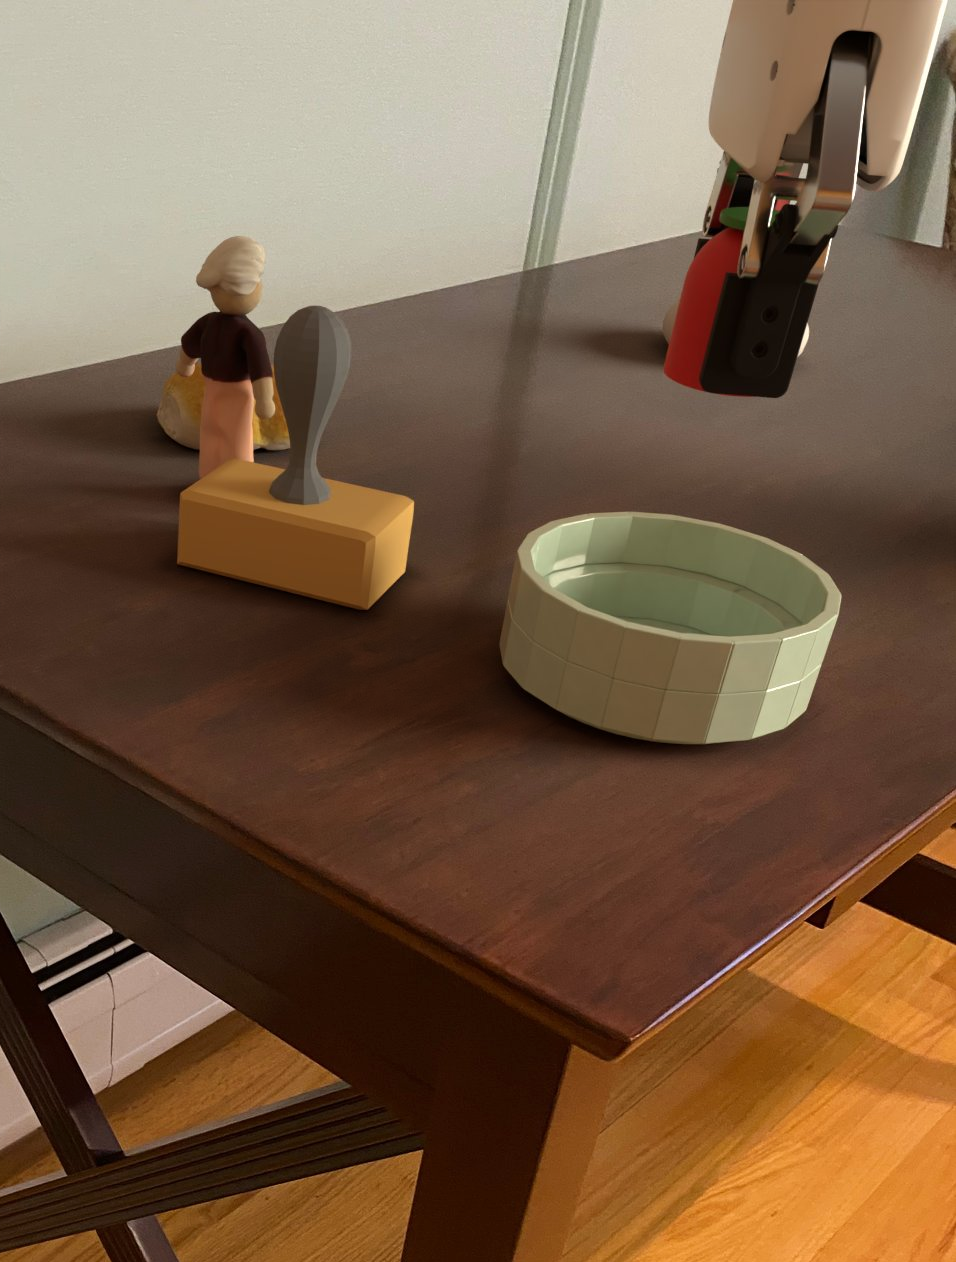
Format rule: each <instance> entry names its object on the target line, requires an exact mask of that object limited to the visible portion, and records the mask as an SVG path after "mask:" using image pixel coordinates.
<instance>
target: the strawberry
mask: <svg viewBox="0 0 956 1262" xmlns="http://www.w3.org/2000/svg"><path fill="white" fill-rule="evenodd" d="M748 211H749V207H732V208H726V209H723V210H722V211H721V214H720V218H719V221H720V222H721V223H722V224H724V225H726V226H729V228H727V229H725V230H723V231H721V232H720V233H718V234H717V235H715V236H714V237H711V238H709V239H710V240H709V241H708V242H707V243H706V244H705V245H704V246H703V247H702V248H701V250H700V251H699V252H698V254H697V255H696V256H695V258H694V257H693V259H694V260H693V259H692V261H691V263H690V265H689V267H688V269H687V271H686V275H685V277H684V280H683V281H684V282H683V285H682V289H681V293H680V297H679V299H680V301H679V305H678V310H677V314H676V318H675V322H674V326H673V330H672V335H671V339H670V343H669V344H668V347H667V351H666V356H665V360H664V364H663V369H662V370H663V373H664V375H665V376H666V377H667V378H668V379H670V380H671V381H673V382H675V383H676V384H679V385H682V386H683V387H687V388H689V389H692V390H693V389H694V390H697V391H701V392H705V393H707V392H706V391H704V390H703V388H702V386H701V385H700V383H699V376H700V372H701V368H702V364H703V360H704V356H705V352H706V348H707V344H708V341H709V337H710V333H711V329H712V325H713V321H714V317H715V313H716V309H717V305H718V302H719V298H720V294H721V290H722V286H723V282H724V278H725V274H726V272H728V273H737V266H738V260H739V255H740V250H741V245H742V240H743V236H744V231H745V226H746V221H747V216H748ZM779 212H780V211H779V210H772V215H771V220H770V225H769V229H770V227H771V225H772V223H773V222H774V220H775V215H776V214H778V213H779ZM768 231H769V230H768ZM713 395H721V396H729V397H739V398H740V397H741V398H742V397H743V398H756V397H755V396H743V395H731V394H719V393H713Z"/></svg>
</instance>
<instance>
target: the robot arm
mask: <svg viewBox="0 0 956 1262" xmlns="http://www.w3.org/2000/svg"><path fill="white" fill-rule="evenodd" d="M948 1H949V0H732V3H731V7H730V12H729V15H728V19H727V24H726V28H725V32H724V36H723V40H722V44H721V45H722V46H721V50H720V53H719V59H718V63H717V66H716V67H717V68H716V73H715V77H714V83H713V87H712V92H711V93H712V94H711V99H710V106H709V113H708V131H709V134H710V137H711V138H712V139H713V140H714V142H715V143H716V144H717V145H718V146H719V147H720V148H721V150H723V152H722V155H721V159H720V160H719V165H718V167H717V171H716V175H715V179H714V182H713V186H712V189H711V193H710V195H709V199H708V203H707V206H706V209H705V213H704V217H703V221H702V232H701V233H702V237H703V238H701V237H700V238H698V239H697V244H696V247H695V251H694V256H693V259H692V261H693V260H694V258H695V256H696V255H697V254H698V252H699V251H700V250H701V248H702V247H703V246H704V245H705V244H706V243H707V242H708V241H709V240H710V239H711V238H713V237H714V236H715V235H717V234H718V233H720V232H721V231H723V230H725V229H727V228H729V226H726V225H724V224H722V223H721V222H720V221H719V218H720V214H721V211H722V210H723V209H726V208H732V207H749V211H748V216H747V221H746V226H745V231H744V236H743V240H742V245H741V250H740V255H739V260H738V266H737V273H728V272H726V274H725V278H724V282H723V286H722V290H721V294H720V298H719V302H718V305H717V309H716V313H715V317H714V321H713V325H712V329H711V333H710V337H709V341H708V344H707V348H706V352H705V356H704V360H703V364H702V368H701V372H700V376H699V383H700V385H701V386H702V388H703V390H704V391H706V392H705V393H708V394H714V393H719V394H718V395H720V394H731V395H743V396H755V397H754V398H767V399H768V398H769V399H779V398H781V397H783V396H784V395H786V393H787V392H788V390H789V388H790V387H789V386H790V383H791V380H792V377H793V374H794V370H795V366H796V363H797V360H798V358H799V356H798V353H799V350H800V346H801V343H802V340H803V336H804V333H805V329H806V326H807V323H808V322H809V319H810V315H811V312H812V310H813V305H814V301H815V299H816V295H817V291H818V288H819V285H820V283H821V281H822V279H823V276H824V273H825V269H826V267H827V262H828V257H829V253H830V249H831V243H832V240H833V239H834V238H835V237H836V235H837V232H838V230H839V224H840V223H841V222H842V221H843V219H844V218H845V217H846V215H847V214H848V213H849V211H850V210H851V208H852V207H851V206H852V204H853V201H854V198H855V193H856V185H857V186H858V187H860V188H862V189H863V190H865V191H870V192H871V191H872V192H879V191H881V190H883V189H885V188H886V187H887V186H889V185H890V184H891V183H892V182H893V181H895V179H897V177H898V175H899V174H900V172H901V170H902V167H903V164H904V161H905V157H906V155H907V152H908V148H909V145H910V141H911V137H912V133H913V130H914V127H915V124H916V120H917V116H918V113H919V109H920V105H921V102H922V97H923V94H924V90H925V87H926V83H927V79H928V76H929V71H930V68H931V64H932V61H933V57H934V53H935V50H936V47H937V43H938V38H939V35H940V30H941V27H942V24H943V20H944V15H945V12H946V8H947V5H948ZM804 164H807V170H806V175H805V178H804V177H800V175H801V173H802V172H801V171H802V169H803V166H804ZM791 201H794V202H796V203H795V204H791ZM772 210H779V211H780V212H779V213H778V214H776V215H775V220H774V222H773V223H772V225H771V227H770V229H769V225H770V220H771V215H772ZM768 230H769V231H768ZM808 324H809V323H808ZM797 357H798V358H797ZM704 391H703V392H704Z"/></svg>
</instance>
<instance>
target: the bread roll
mask: <svg viewBox="0 0 956 1262" xmlns="http://www.w3.org/2000/svg"><path fill="white" fill-rule="evenodd" d="M271 367H272V372H273V379H272V382H273V393H274V394H273V397H272V400H273V402H274V404H275V413H274V415H273V416H272V417H271V418H269V419H260V418H259V417H257V415H256V413H255V403H256V401H255V398H254V408H253V418H252V430H253V451H255V450H257V449H264V450H266V451H284V450H287V449H290V439H289V433H288V428H287V424H286V420H285V416H284V413H283V409H282V406H281V402H280V399H279V395H278V391H277V386H276V382H275V375H274V364H271ZM205 385H206V384H205V381H204V378H203V375H202V371H201V363H195V369H194V372H193V374H192V375H191V376H189V377H182V376H180V375H179V374H178V373H177V371H176V372H175V373H173V374H172V375H171V376H170V377H169V378H168V379H167V380H166V382H165V383H164V386H163V389H162V395H161V400H160V402H159V404H158V410H157V413H156V418H157V421H158V423H159V425H160V427H162V429H163V431H164V432H165V433H166V435H167V436H168V437H169V438H171V439H172V440H174V442H177V443H178V444H180V445H182V446H184V447H186V448H189V449H193V450H198V451H200V425H201V411H202V404H203V399H204V392H205Z"/></svg>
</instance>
